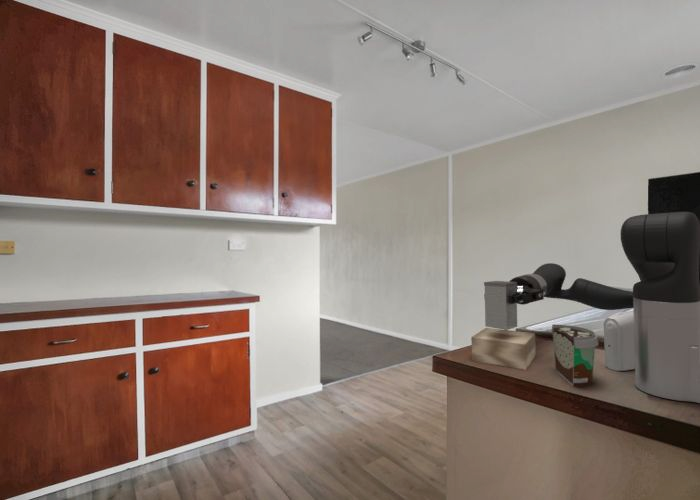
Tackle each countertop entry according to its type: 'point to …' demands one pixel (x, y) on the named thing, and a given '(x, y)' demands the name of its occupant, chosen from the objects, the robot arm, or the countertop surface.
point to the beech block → (504, 347)
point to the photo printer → (619, 341)
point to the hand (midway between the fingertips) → (498, 298)
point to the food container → (574, 353)
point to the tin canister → (500, 305)
